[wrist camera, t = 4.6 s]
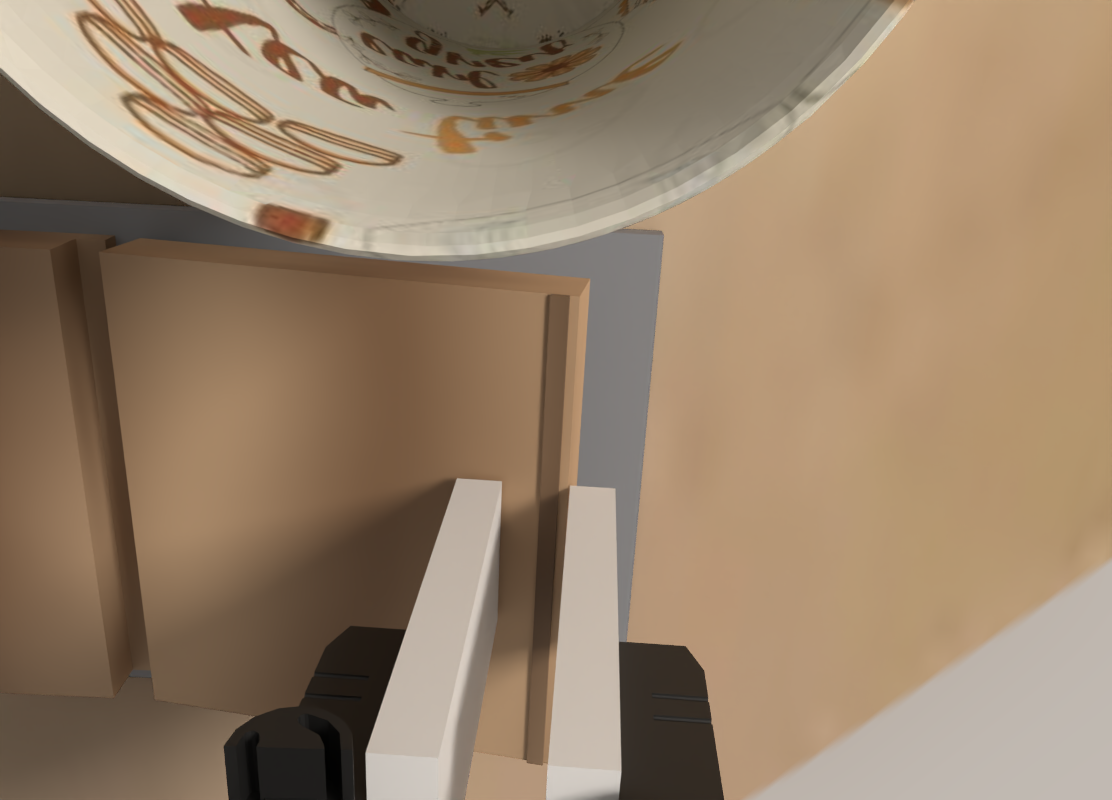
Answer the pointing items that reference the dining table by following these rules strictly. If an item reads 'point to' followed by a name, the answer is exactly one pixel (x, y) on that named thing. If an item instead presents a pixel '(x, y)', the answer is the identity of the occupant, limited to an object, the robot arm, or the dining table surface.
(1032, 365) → the dining table surface
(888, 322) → the dining table surface
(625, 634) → the underlay
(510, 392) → the plank
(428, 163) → the mug
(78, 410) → the laid plank
